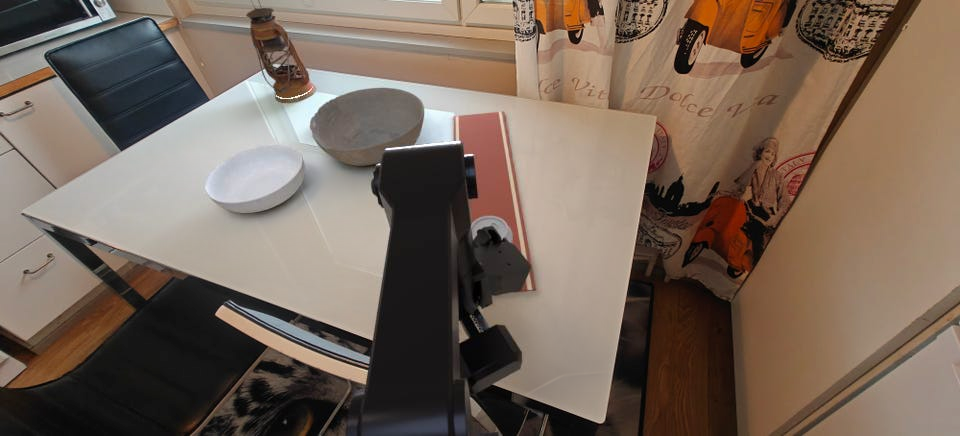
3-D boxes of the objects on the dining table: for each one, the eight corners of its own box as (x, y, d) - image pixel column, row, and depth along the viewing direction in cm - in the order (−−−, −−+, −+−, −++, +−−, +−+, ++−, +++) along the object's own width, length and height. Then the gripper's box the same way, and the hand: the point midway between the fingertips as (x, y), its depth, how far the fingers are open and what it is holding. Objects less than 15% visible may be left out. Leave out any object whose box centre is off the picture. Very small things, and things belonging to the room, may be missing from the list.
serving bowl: (220, 238, 85) (202, 215, 80) (221, 183, 99) (205, 161, 94) (319, 204, 90) (308, 180, 86) (306, 157, 104) (296, 134, 100)
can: (463, 274, 73) (455, 228, 64) (494, 252, 76) (490, 205, 68) (491, 300, 68) (486, 253, 60) (522, 274, 72) (522, 227, 63)
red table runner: (535, 290, 69) (535, 289, 69) (454, 297, 70) (454, 296, 70) (503, 112, 112) (503, 111, 112) (453, 117, 113) (453, 116, 113)
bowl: (322, 132, 112) (308, 99, 105) (418, 110, 117) (411, 77, 110) (325, 192, 93) (309, 157, 86) (441, 163, 98) (434, 127, 91)
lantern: (328, 86, 133) (291, -16, 112) (303, 105, 125) (258, 0, 104) (288, 81, 138) (246, -17, 118) (261, 99, 130) (210, -2, 109)
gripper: (574, 294, 35) (563, 375, 46) (476, 178, 47) (486, 263, 58) (457, 355, 32) (475, 425, 42) (385, 214, 44) (413, 296, 55)
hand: (463, 341), depth 49 cm, fingers open, 9 cm apart
